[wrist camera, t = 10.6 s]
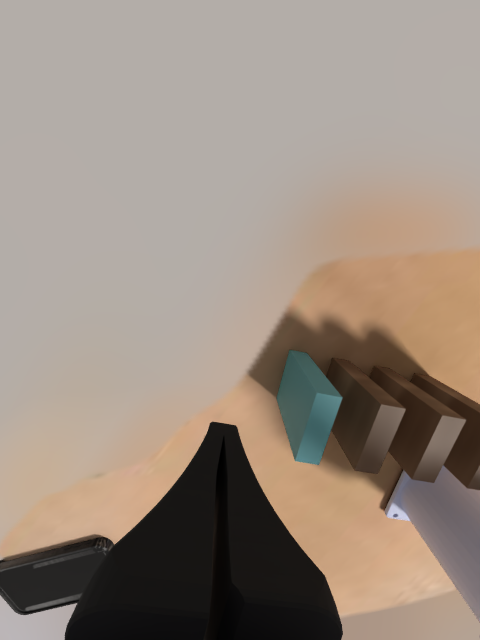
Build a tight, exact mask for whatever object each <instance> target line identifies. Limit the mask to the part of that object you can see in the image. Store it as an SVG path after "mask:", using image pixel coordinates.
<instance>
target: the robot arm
mask: <svg viewBox="0 0 480 640" xmlns="http://www.w3.org/2000/svg"><path fill="white" fill-rule="evenodd" d="M385 514H386V516H387V517H388V518H393V519H400V520H407V521H411V522H412V524H413V525H414V527H415V528H416V530H417V531H418V532H419V534H420V535H421V537H422V538H423V540H424V541H425V543H426V544H427V546H428V547H429V549H430V550H431V552H432V553H433V554H434V556H435V557H436V559H437V560H438V562H439V563H440V565H441V566H442V568H443V569H444V571H445V572H446V574H447V575H448V576H449V578H450V579H451V581H452V582H453V584H454V585H455V587H456V588H457V590H458V591H459V592H460V594H461V596H462V597H463V598H464V600H465V601H466V603H467V604H468V606H469V607H470V609H471V610H472V611H473V613H474V615H475V616H476V618H477V619H478V621H479V622H480V490H474V489H468V488H466V487H465V486H464V485H463V484H462V483H461V482H460V481H459V480H458V479H457V478H456V477H455V476H454V475H453V474H452V473H451V472H450V471H449V470H447V469H446V468H445V467H444V466H443V467H442V468H441V470H440V472H439V474H438V476H437V478H436V480H435V482H434V483H430V482H424V481H418V480H412V479H411V478H410V477H409V476H408V474H407V473H406V472H405V471H404V470H403V472H402V474H401V476H400V479H399V481H398V483H397V485H396V487H395V489H394V492H393V494H392V496H391V498H390V500H389V502H388V505H387V507H386V509H385ZM342 635H343V631H342V624H341V621H340V617H339V614H338V611H337V607H336V604H335V601H334V599H333V596H332V593H331V591H330V588H329V585H328V583H327V580H326V578H325V575H324V574H323V573H322V572H321V571H320V570H319V568H318V567H317V566H316V565H315V564H314V563H313V561H312V560H311V559H310V558H309V557H308V556H307V554H306V553H305V552H304V551H303V550H302V549H301V547H300V546H299V545H298V543H297V542H296V541H295V539H294V538H293V537H292V535H291V534H290V533H289V531H288V530H287V528H286V527H285V525H284V524H283V522H282V521H281V520H280V518H279V517H278V515H277V514H276V512H275V511H274V509H273V507H272V506H271V504H270V502H269V501H268V499H267V497H266V496H265V494H264V492H263V490H262V488H261V487H260V485H259V483H258V481H257V479H256V477H255V474H254V472H253V470H252V468H251V466H250V463H249V461H248V459H247V456H246V454H245V451H244V448H243V445H242V443H241V440H240V436H239V433H238V429H237V427H236V425H230V424H224V423H218V422H211V423H210V426H209V429H208V432H207V434H206V436H205V438H204V440H203V442H202V444H201V446H200V447H199V449H198V451H197V453H196V454H195V456H194V457H193V459H192V460H191V462H190V463H189V465H188V467H187V468H186V469H185V471H184V472H183V474H182V475H181V476H180V478H179V479H178V480H177V481H176V483H175V484H174V485H173V486H172V488H171V489H170V490H169V491H168V492H167V493H166V495H165V496H164V497H163V498H162V499H161V500H160V502H159V503H158V504H157V505H156V506H155V507H154V508H153V509H152V510H151V511H150V512H149V513H148V514H147V515H146V516H145V517H144V518H143V519H142V520H141V521H140V522H139V523H138V524H137V525H136V526H135V527H134V528H133V529H132V530H131V531H130V532H128V533H127V534H126V535H125V536H124V537H123V538H122V539H121V540H120V541H118V542H117V543H116V544H115V545H114V546H113V547H112V548H111V549H110V550H109V552H108V553H107V555H106V556H105V558H104V559H103V561H102V562H101V563H100V565H99V566H98V568H97V570H96V571H95V573H94V574H93V576H92V577H91V579H90V581H89V583H88V584H87V586H86V588H85V590H84V591H83V593H82V595H81V597H80V599H79V601H78V603H77V605H76V608H75V610H74V612H73V614H72V616H71V618H70V620H69V623H68V625H67V628H66V632H65V640H341V638H342Z"/></svg>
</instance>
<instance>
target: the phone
mask: <svg viewBox="0 0 480 640" xmlns="http://www.w3.org/2000/svg"><path fill="white" fill-rule="evenodd" d="M113 546H114V544H113V542H112V541H111V540H110V539H108V538H104V537H100V538H96V539H92V540H88V541H84V542H80V543H76V544H72V545H68V546H65V547H61V548H57V549H53V550H49V551H45V552H41V553H37V554H33V555H29V556H26V557H22V558H18V559H14V560H10V561H5V560H4V559H2V560H0V595H1V596H2V597H3V599H4V600H5V601H6V602H7V603H8V604H9V606H10V607H11V608H12V609H13V610H14V611H15V612H16V613H18V614H21V615H28V614H32V613H36V612H41V611H45V610H49V609H53V608H57V607H62V606H66V605H70V604H74V603H78V601H79V599H80V597H81V595H82V593H83V591H84V590H85V588H86V586H87V584H88V583H89V581H90V579H91V577H92V576H93V574H94V573H95V571H96V570H97V568H98V566H99V565H100V563H101V562H102V561H103V559H104V558H105V556H106V555H107V553H108V552H109V550H110V549H111V548H112V547H113Z"/></svg>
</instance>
